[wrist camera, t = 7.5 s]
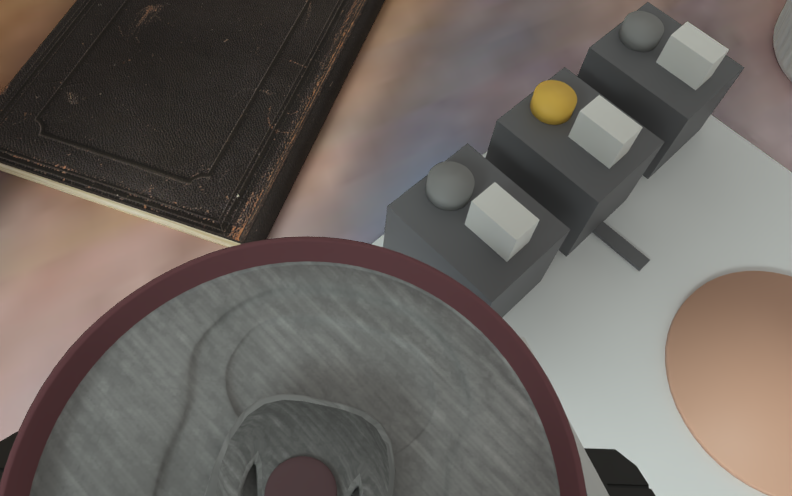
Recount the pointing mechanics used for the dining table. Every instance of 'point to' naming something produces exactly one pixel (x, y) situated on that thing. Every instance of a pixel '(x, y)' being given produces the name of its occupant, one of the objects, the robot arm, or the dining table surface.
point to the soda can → (297, 387)
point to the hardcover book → (182, 106)
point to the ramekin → (784, 39)
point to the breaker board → (633, 257)
